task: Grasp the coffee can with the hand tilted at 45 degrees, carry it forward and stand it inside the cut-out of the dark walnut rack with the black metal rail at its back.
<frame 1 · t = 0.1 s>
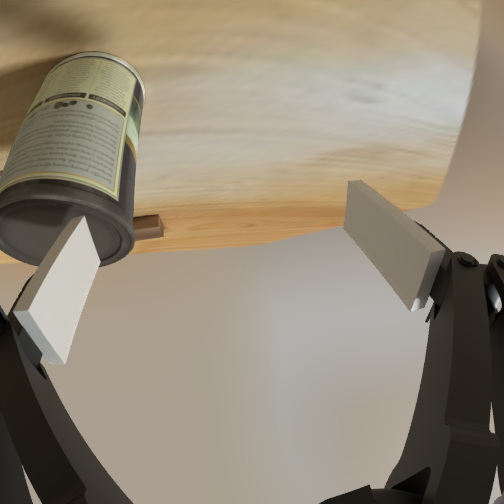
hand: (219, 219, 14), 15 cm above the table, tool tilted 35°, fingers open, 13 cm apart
coffee can: (91, 96, 20), on the table
rack: (92, 199, 34), on the table
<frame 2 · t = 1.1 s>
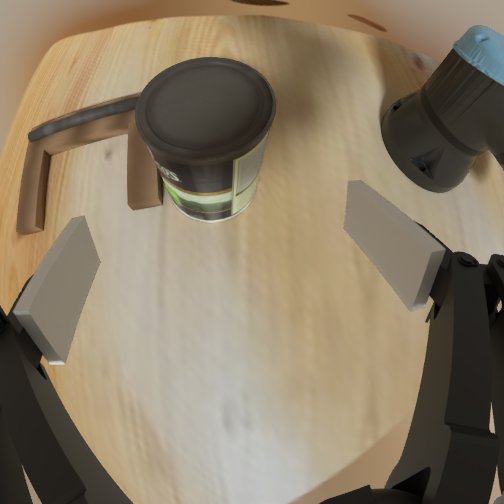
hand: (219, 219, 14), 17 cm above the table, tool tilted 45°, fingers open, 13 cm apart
coffee can: (213, 181, 33), on the table
rack: (86, 162, 32), on the table
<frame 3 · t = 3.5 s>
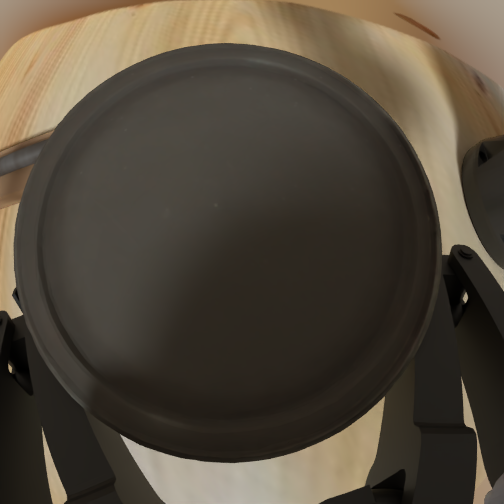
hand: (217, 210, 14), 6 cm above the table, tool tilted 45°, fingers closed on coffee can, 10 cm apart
coffee can: (226, 282, 19), on the table, touching gripper
rack: (28, 232, 19), on the table
when the fingers open (7 cm above the table, at t = 9.2 s): coffee can drops 1 cm, on the table.
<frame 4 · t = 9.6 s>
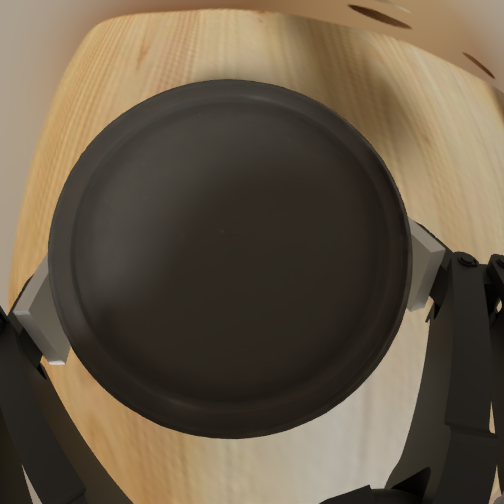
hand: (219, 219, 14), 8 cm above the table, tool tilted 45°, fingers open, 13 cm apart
coffee can: (228, 286, 21), on the table
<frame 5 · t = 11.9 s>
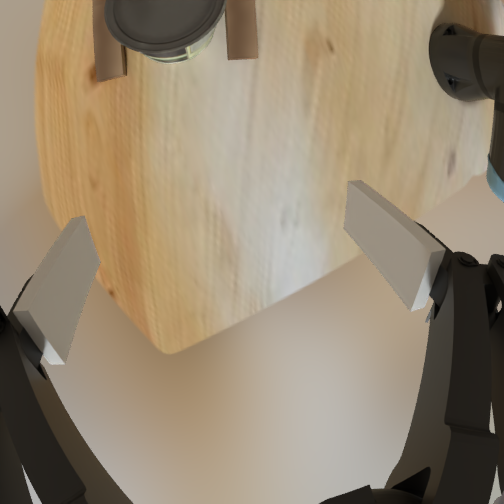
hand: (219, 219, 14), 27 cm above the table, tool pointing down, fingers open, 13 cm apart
coffee can: (175, 28, 27), on the table
rack: (172, 11, 26), on the table
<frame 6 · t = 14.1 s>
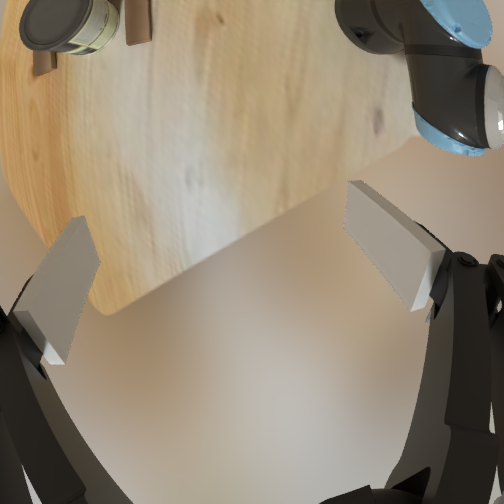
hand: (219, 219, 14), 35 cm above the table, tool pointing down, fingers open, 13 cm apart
coffee can: (90, 27, 29), on the table
rack: (89, 14, 28), on the table
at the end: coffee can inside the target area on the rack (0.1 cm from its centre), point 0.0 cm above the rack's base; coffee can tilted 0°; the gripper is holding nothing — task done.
